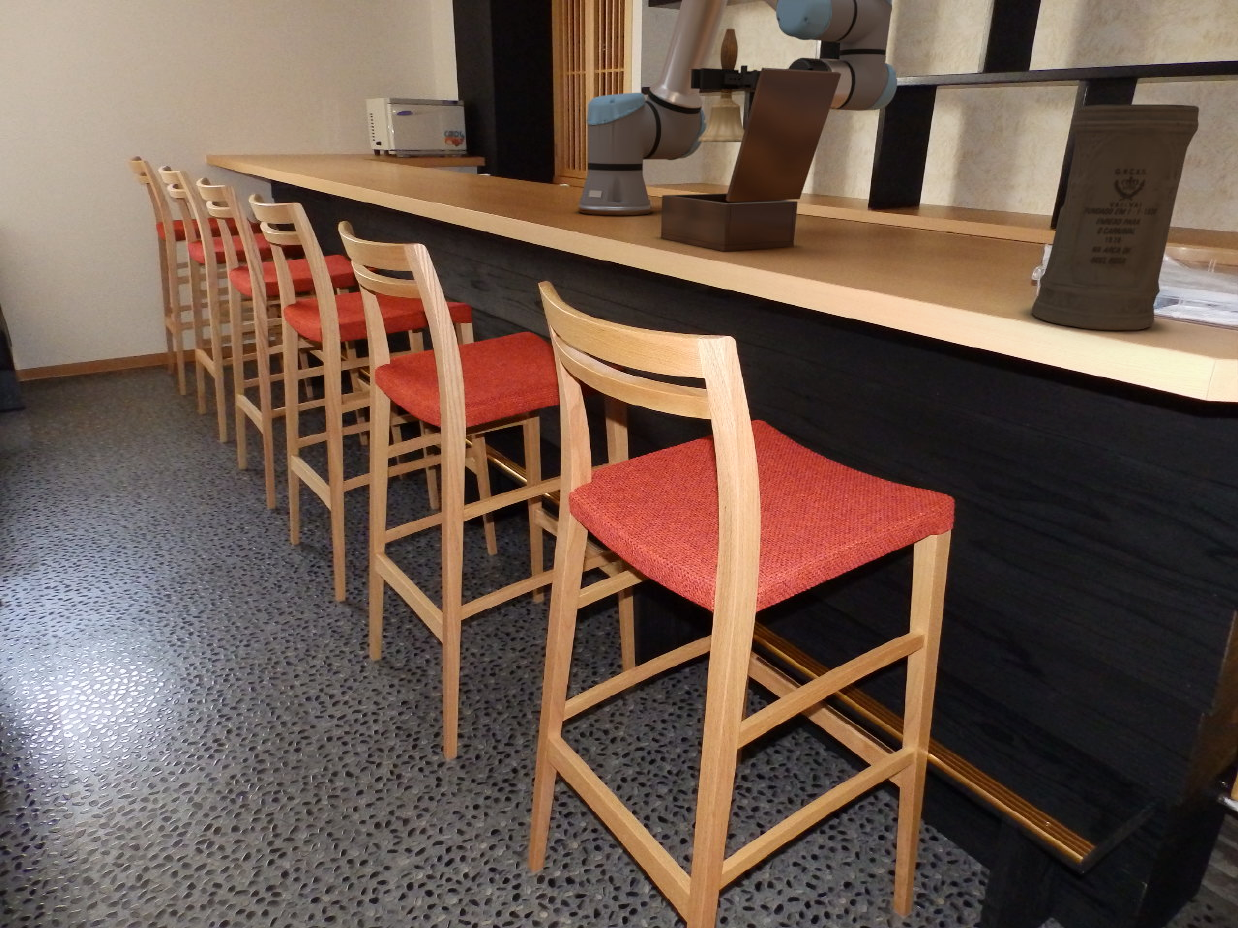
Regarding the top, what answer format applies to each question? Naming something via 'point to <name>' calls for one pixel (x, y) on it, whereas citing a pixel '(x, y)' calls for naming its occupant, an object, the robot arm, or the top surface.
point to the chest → (728, 222)
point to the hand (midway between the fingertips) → (697, 78)
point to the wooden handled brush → (725, 101)
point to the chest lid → (782, 134)
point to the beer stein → (1116, 216)
